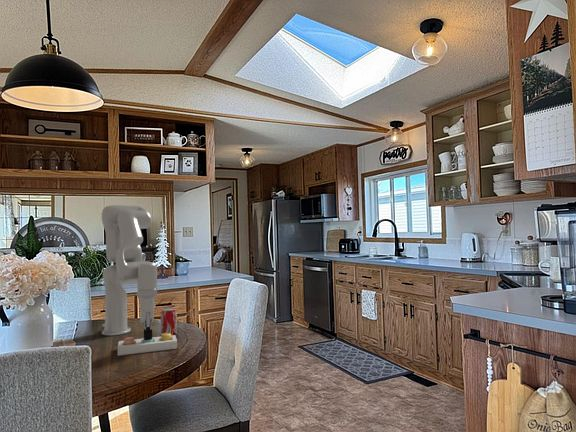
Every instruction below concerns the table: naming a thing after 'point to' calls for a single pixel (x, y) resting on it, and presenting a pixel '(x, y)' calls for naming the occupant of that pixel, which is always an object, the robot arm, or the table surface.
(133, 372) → the table surface
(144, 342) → the teal button
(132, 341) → the terracotta button
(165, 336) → the amber button
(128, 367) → the table surface
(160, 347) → the button box
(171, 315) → the soda can
